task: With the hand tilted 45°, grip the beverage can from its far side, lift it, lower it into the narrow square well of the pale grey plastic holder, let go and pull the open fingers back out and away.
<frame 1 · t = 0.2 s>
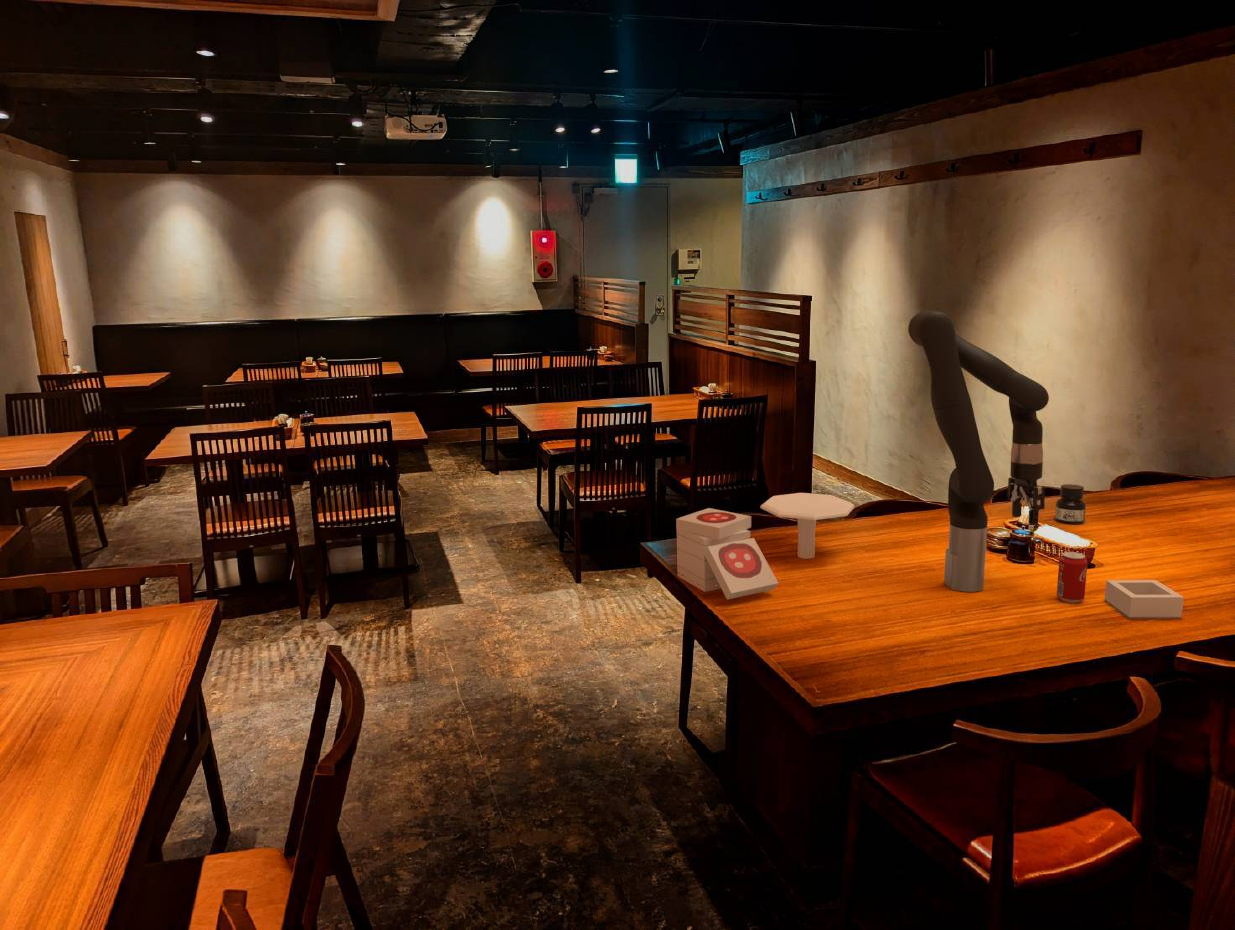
hand: (1024, 520, 223), 18 cm above the table, fingers open, 8 cm apart
table 2: (806, 556, 257), on the table
pizza boxes: (724, 585, 235), on the table
well holder: (1141, 609, 209), on the table
beverage can: (1069, 600, 216), on the table
ink bottle: (1069, 521, 285), on the table
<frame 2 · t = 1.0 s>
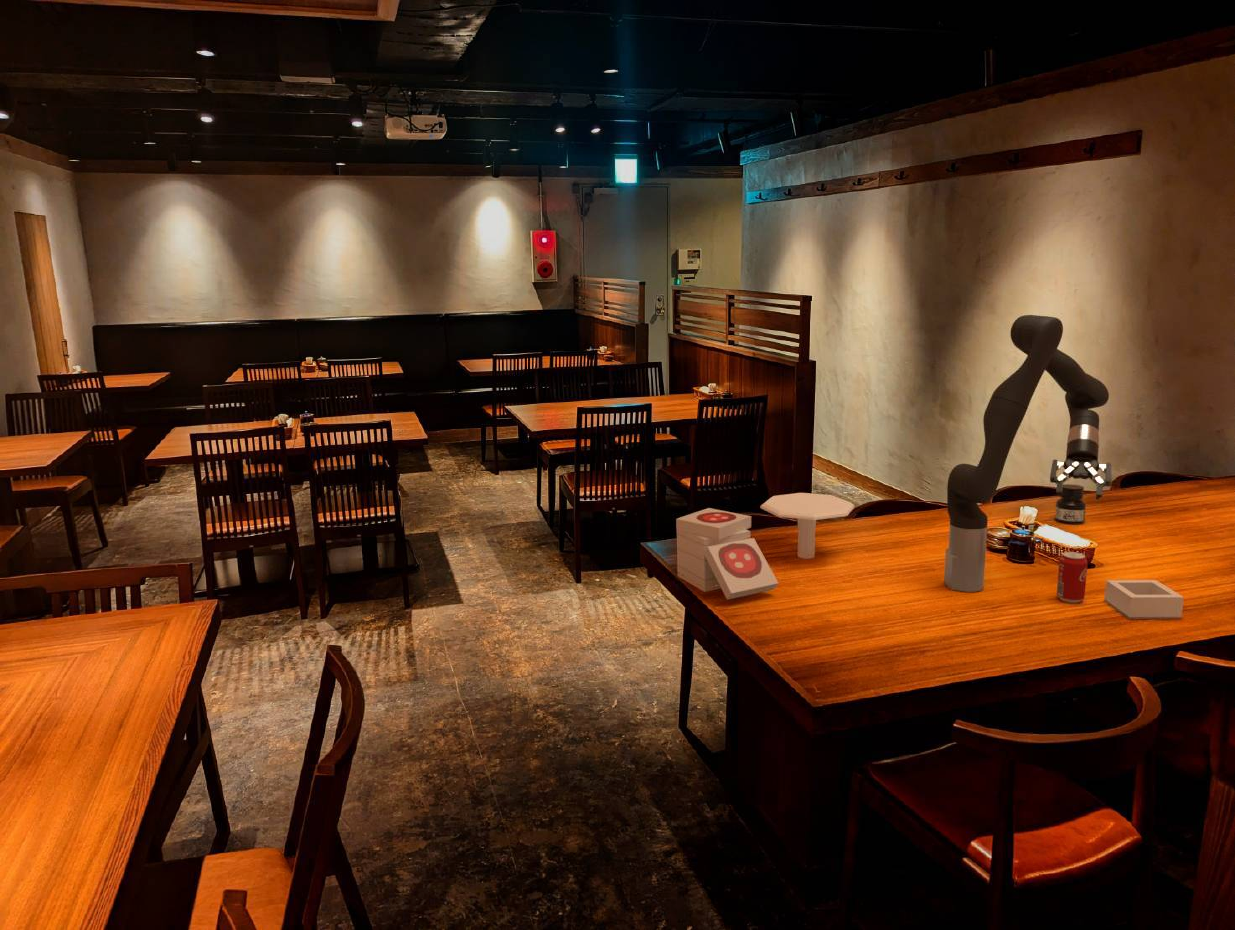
hand: (1078, 496, 221), 24 cm above the table, fingers open, 8 cm apart
nothing on the table moved.
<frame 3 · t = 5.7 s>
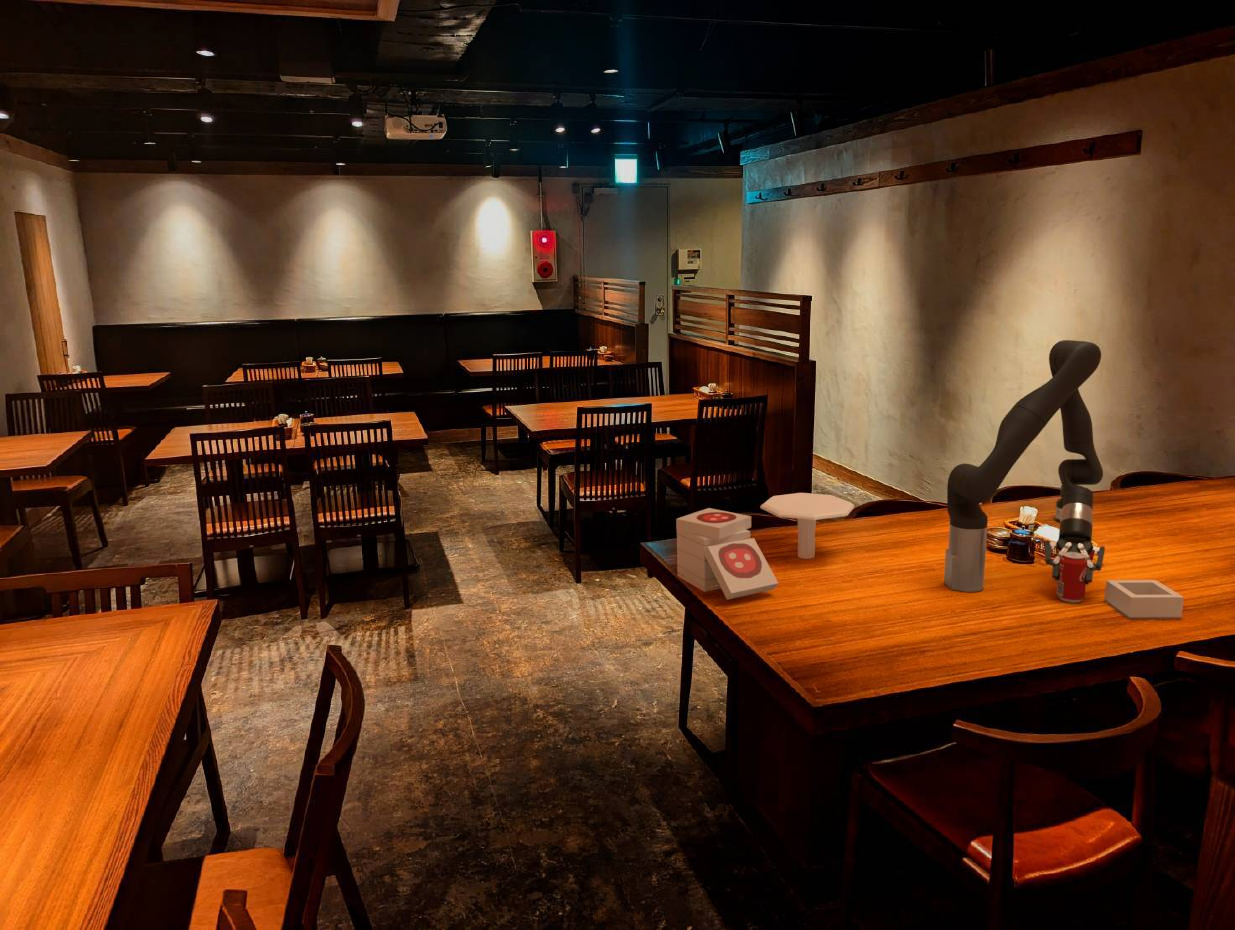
hand: (1071, 581, 214), 6 cm above the table, fingers closed on beverage can, 6 cm apart
beverage can: (1069, 600, 216), on the table, touching gripper
everything else where it was.
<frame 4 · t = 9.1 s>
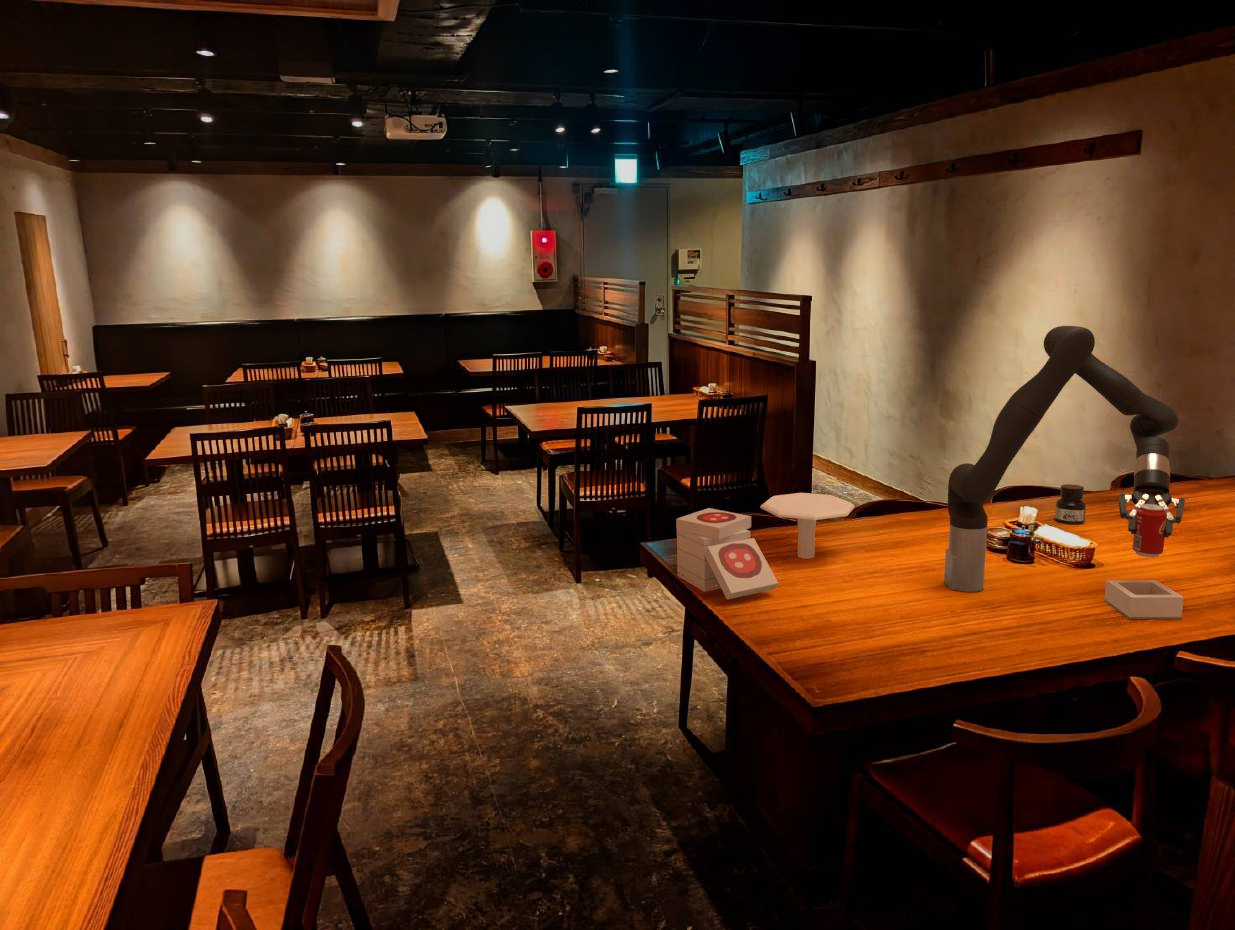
hand: (1150, 534, 203), 20 cm above the table, fingers closed on beverage can, 6 cm apart
beverage can: (1147, 554, 206), point 14 cm above the table, touching gripper
everything else where it was.
when the fingers open (7 cm above the table, at t = 12.3 s): beverage can drops 1 cm, resting on well holder.
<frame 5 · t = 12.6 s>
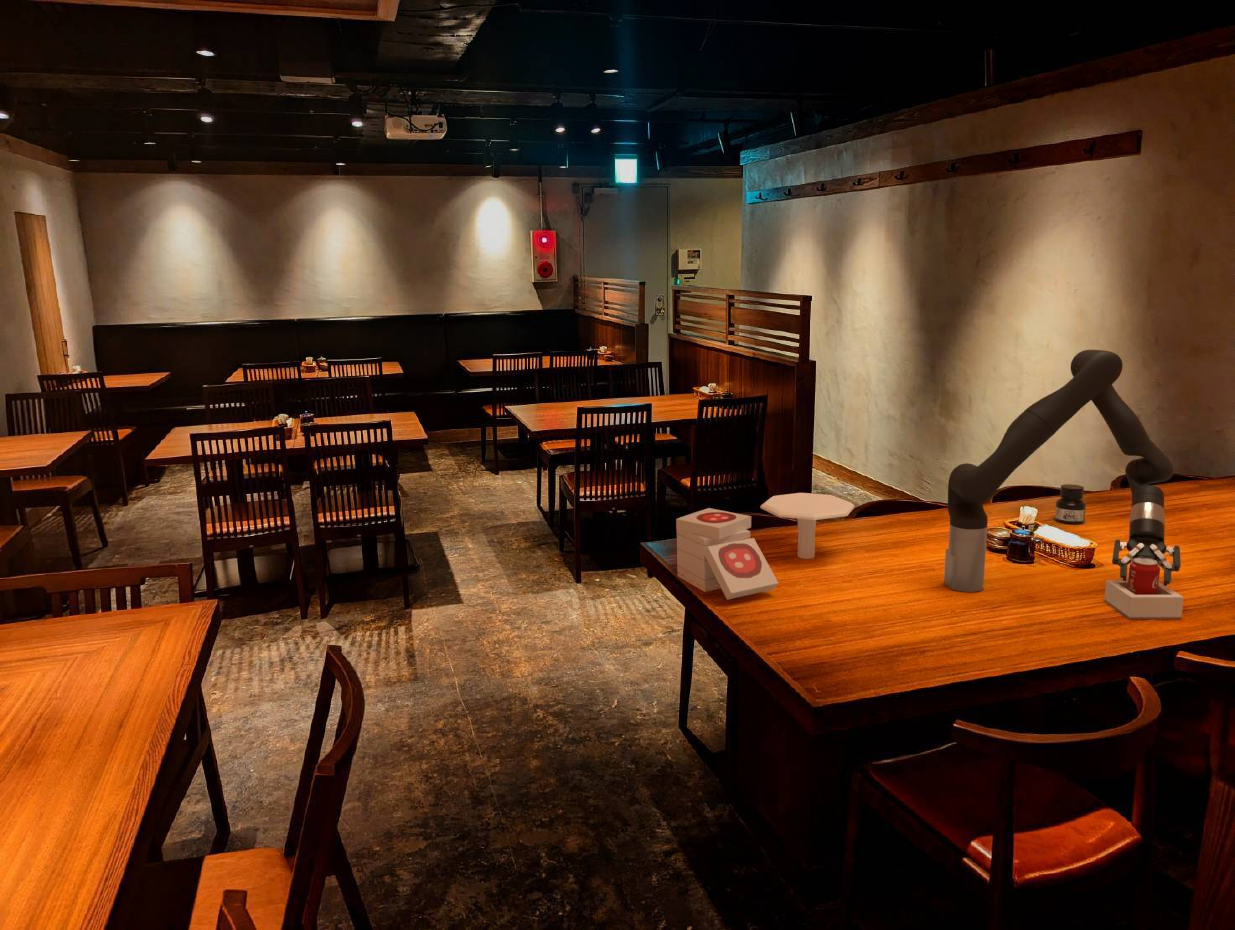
hand: (1145, 581, 206), 8 cm above the table, fingers open, 8 cm apart
beverage can: (1140, 607, 209), resting on well holder
everything else where it was.
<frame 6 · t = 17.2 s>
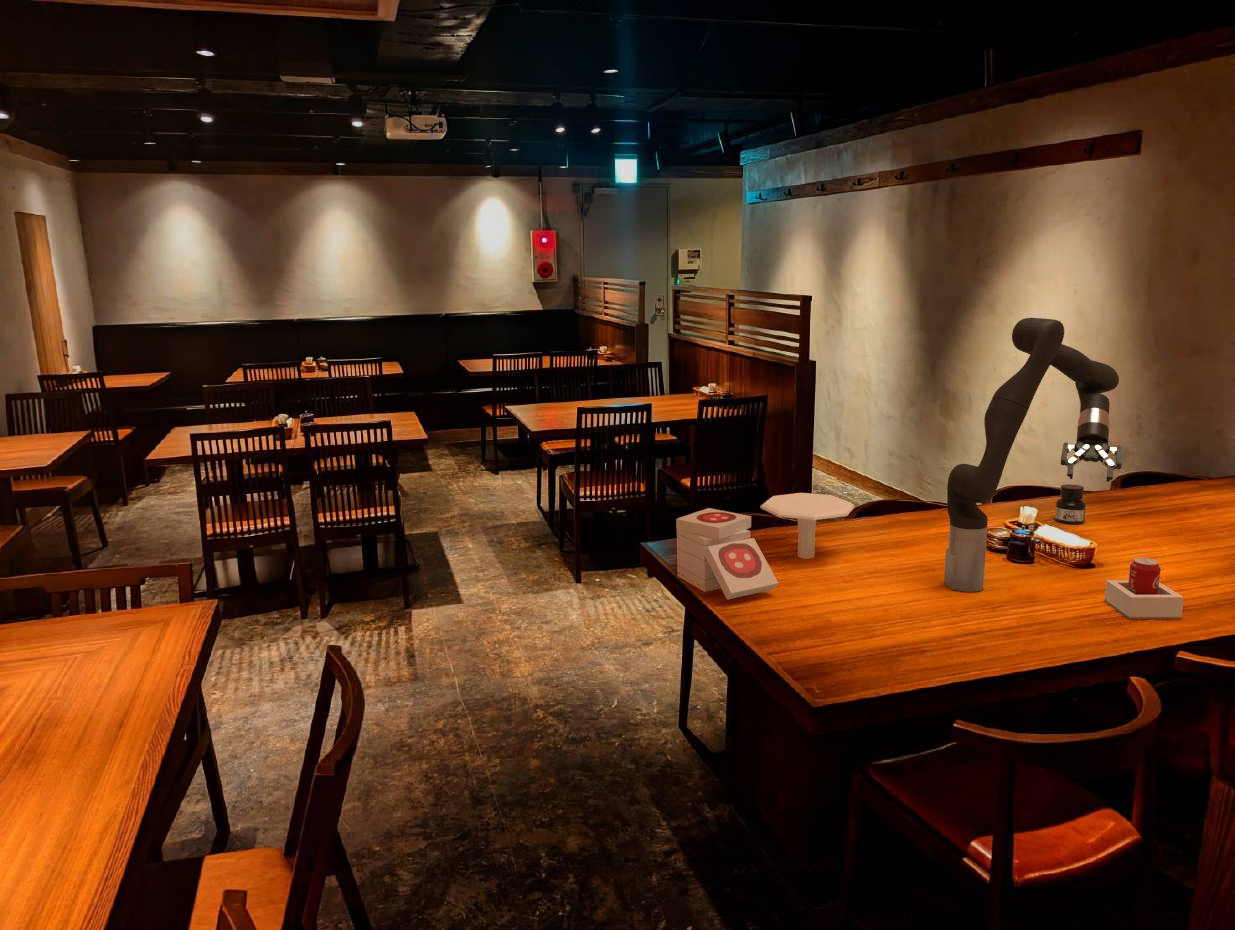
hand: (1089, 478, 222), 29 cm above the table, fingers open, 8 cm apart
nothing on the table moved.
at the end: beverage can 0.3 cm off-centre on the well holder, point 0.3 cm above the well holder's base; beverage can tilted 0°; the gripper is holding nothing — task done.
